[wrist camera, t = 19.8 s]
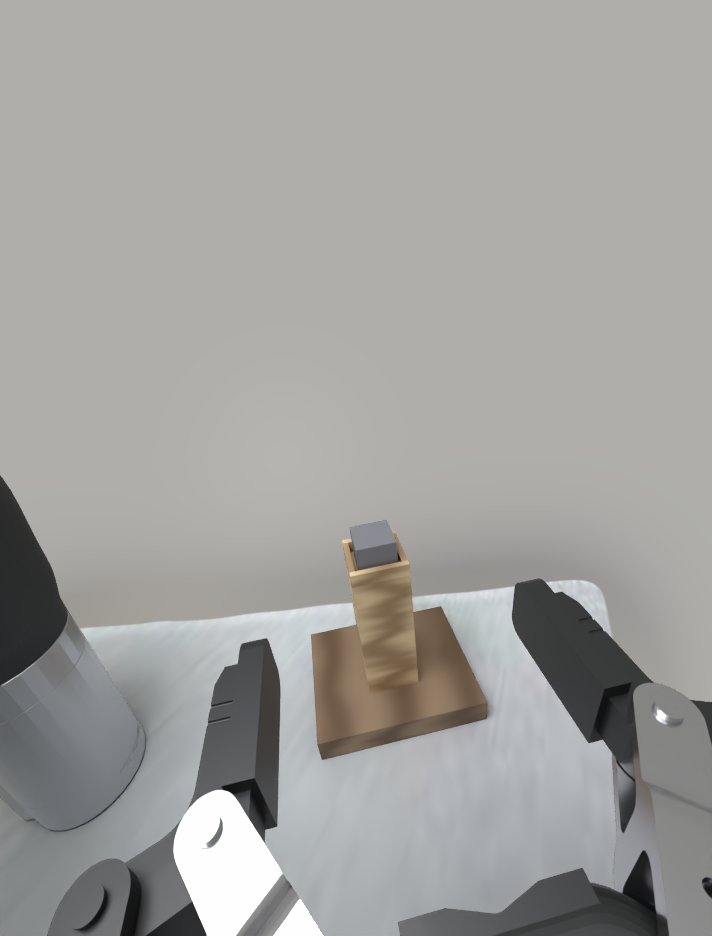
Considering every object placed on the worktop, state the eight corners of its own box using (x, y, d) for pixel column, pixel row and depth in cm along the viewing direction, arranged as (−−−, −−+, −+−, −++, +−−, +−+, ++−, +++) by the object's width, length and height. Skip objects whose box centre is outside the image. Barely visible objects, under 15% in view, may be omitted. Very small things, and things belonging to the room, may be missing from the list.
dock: (322, 759, 34) (317, 744, 33) (314, 649, 45) (311, 634, 44) (486, 718, 36) (487, 702, 35) (441, 620, 47) (440, 606, 46)
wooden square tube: (369, 694, 37) (349, 576, 30) (361, 651, 41) (342, 540, 35) (418, 682, 37) (409, 564, 31) (404, 640, 42) (394, 529, 35)
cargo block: (360, 578, 32) (355, 550, 30) (353, 553, 35) (349, 527, 33) (398, 570, 32) (396, 542, 31) (389, 546, 35) (386, 519, 34)
